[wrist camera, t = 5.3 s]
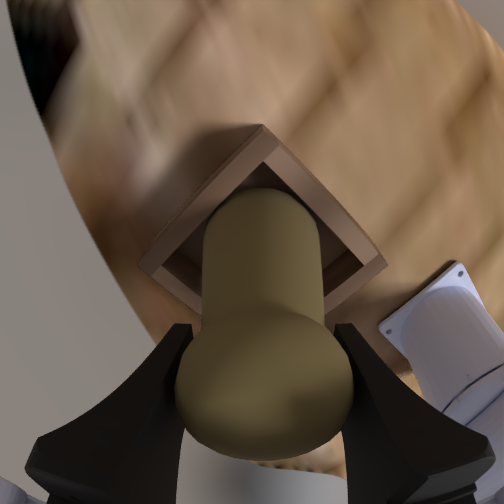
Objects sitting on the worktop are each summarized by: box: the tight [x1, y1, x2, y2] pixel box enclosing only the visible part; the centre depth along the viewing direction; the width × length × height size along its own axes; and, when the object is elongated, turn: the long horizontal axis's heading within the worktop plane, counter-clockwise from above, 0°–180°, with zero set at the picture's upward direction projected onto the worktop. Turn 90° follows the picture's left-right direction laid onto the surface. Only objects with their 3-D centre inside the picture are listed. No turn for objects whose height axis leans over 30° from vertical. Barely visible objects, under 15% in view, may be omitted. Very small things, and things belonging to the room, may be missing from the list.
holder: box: [137, 124, 388, 316], centre depth 18 cm, size 10×10×4 cm
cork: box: [174, 188, 354, 461], centre depth 12 cm, size 6×6×11 cm
